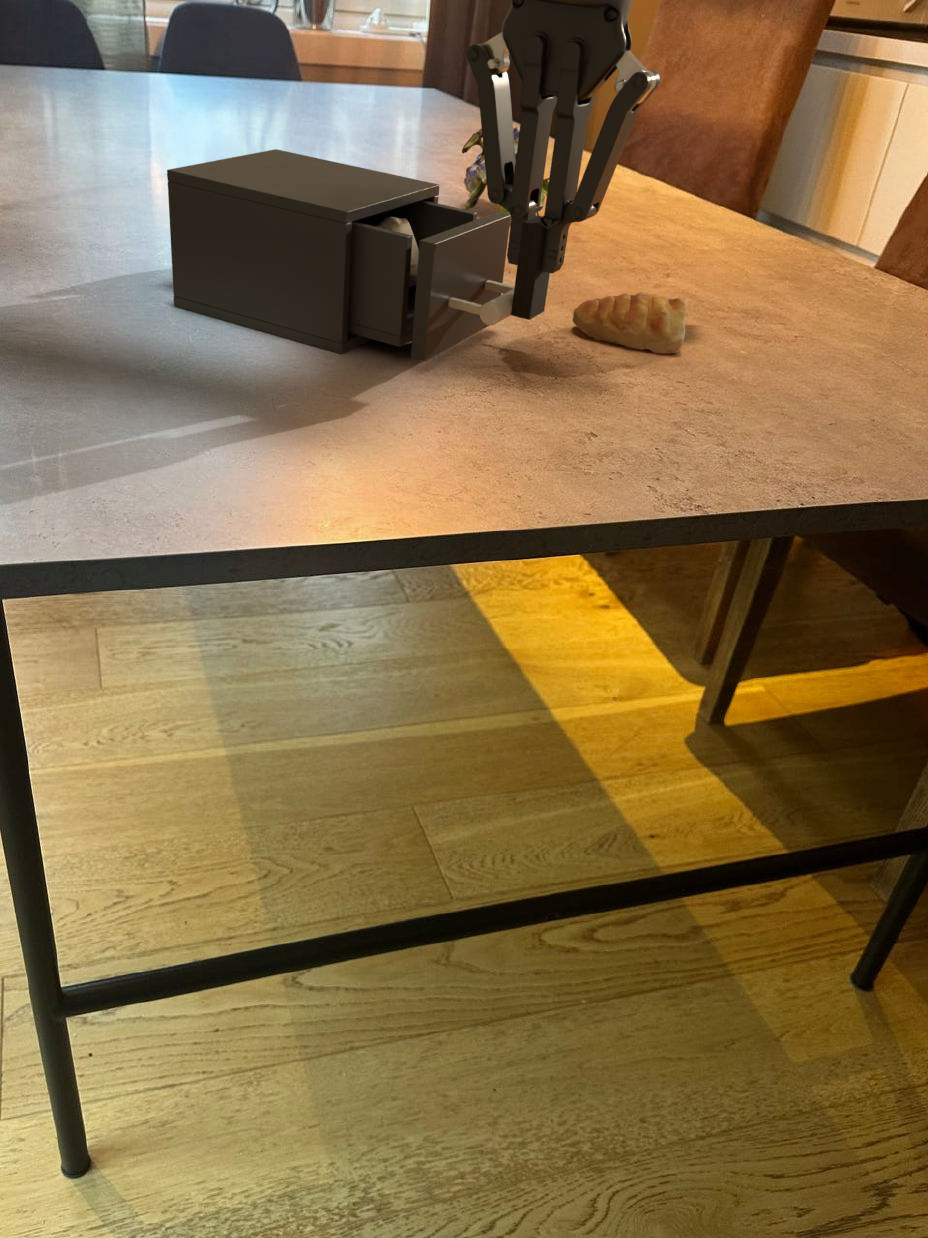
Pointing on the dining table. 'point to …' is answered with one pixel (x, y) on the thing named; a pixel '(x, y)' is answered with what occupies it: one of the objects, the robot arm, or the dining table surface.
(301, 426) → the dining table surface
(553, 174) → the robot arm
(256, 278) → the cabinet
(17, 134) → the dining table surface
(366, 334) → the drawer
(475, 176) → the passion flower
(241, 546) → the dining table surface
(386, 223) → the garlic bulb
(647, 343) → the pastry
